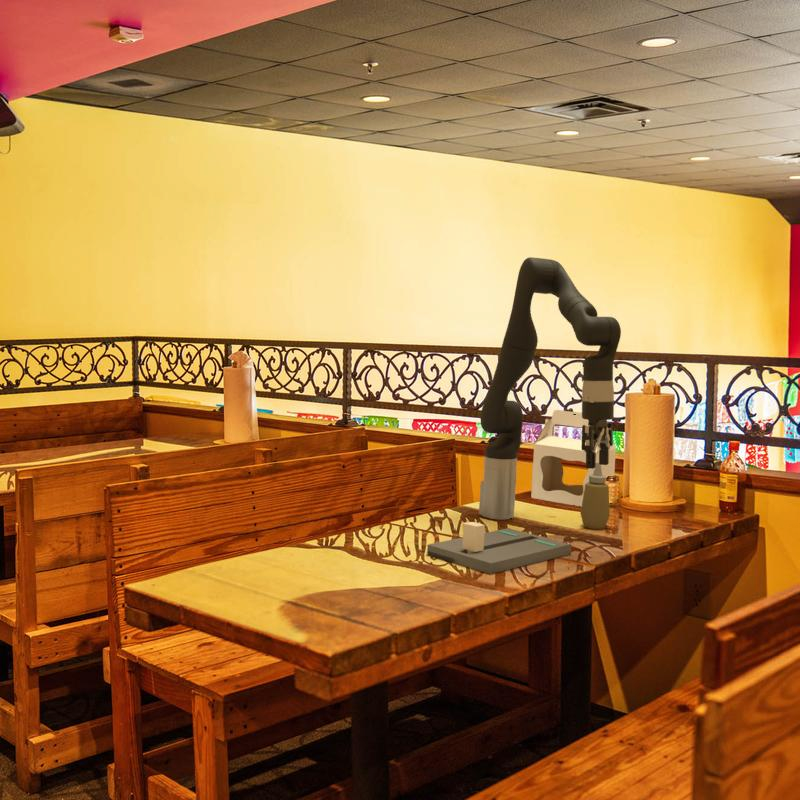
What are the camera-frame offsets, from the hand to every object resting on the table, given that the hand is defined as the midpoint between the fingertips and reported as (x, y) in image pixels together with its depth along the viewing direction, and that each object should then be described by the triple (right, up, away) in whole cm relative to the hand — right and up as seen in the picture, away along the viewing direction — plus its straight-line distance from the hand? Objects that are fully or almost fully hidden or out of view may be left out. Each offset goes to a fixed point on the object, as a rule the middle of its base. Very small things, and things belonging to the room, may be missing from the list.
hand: (597, 466), depth 235 cm
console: (-24, -21, +1) cm, 32 cm away
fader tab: (-31, -20, -6) cm, 37 cm away
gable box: (+6, -16, +71) cm, 73 cm away
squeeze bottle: (+6, -19, +35) cm, 40 cm away
